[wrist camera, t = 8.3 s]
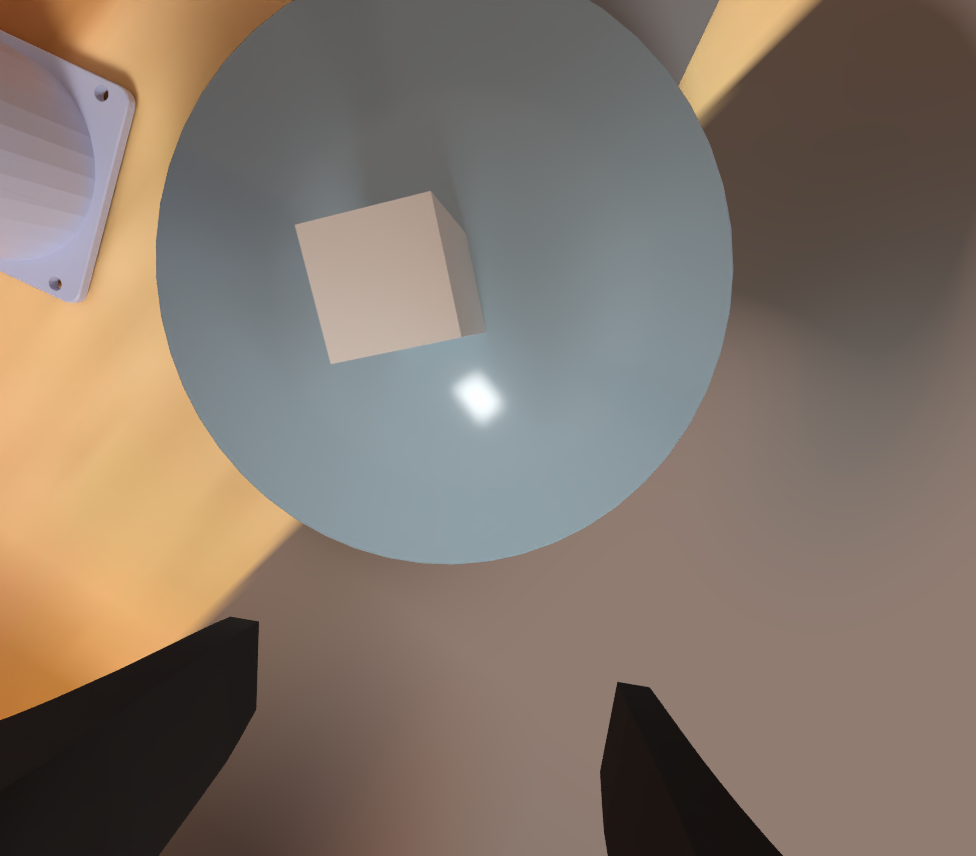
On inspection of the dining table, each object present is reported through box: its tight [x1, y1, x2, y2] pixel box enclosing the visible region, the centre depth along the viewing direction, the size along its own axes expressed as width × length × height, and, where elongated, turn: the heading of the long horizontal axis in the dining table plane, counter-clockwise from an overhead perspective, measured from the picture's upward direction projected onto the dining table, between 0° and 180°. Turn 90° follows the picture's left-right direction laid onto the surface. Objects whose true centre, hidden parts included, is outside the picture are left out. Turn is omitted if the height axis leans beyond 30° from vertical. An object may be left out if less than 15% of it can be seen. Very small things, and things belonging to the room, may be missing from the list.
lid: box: [156, 0, 733, 564], centre depth 13 cm, size 17×17×6 cm
